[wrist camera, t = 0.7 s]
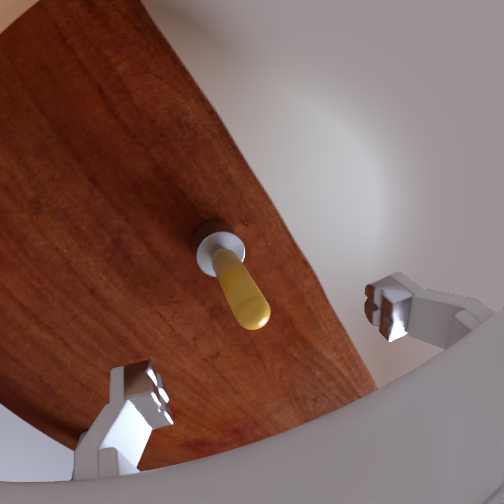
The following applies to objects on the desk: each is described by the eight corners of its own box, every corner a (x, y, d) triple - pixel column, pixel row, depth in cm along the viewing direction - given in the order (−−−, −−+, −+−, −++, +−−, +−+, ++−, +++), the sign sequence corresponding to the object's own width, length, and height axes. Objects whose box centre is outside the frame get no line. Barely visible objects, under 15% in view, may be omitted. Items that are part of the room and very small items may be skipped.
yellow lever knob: (183, 232, 32) (211, 313, 19) (225, 212, 32) (278, 278, 20) (203, 269, 34) (239, 359, 22) (242, 249, 34) (298, 328, 22)
